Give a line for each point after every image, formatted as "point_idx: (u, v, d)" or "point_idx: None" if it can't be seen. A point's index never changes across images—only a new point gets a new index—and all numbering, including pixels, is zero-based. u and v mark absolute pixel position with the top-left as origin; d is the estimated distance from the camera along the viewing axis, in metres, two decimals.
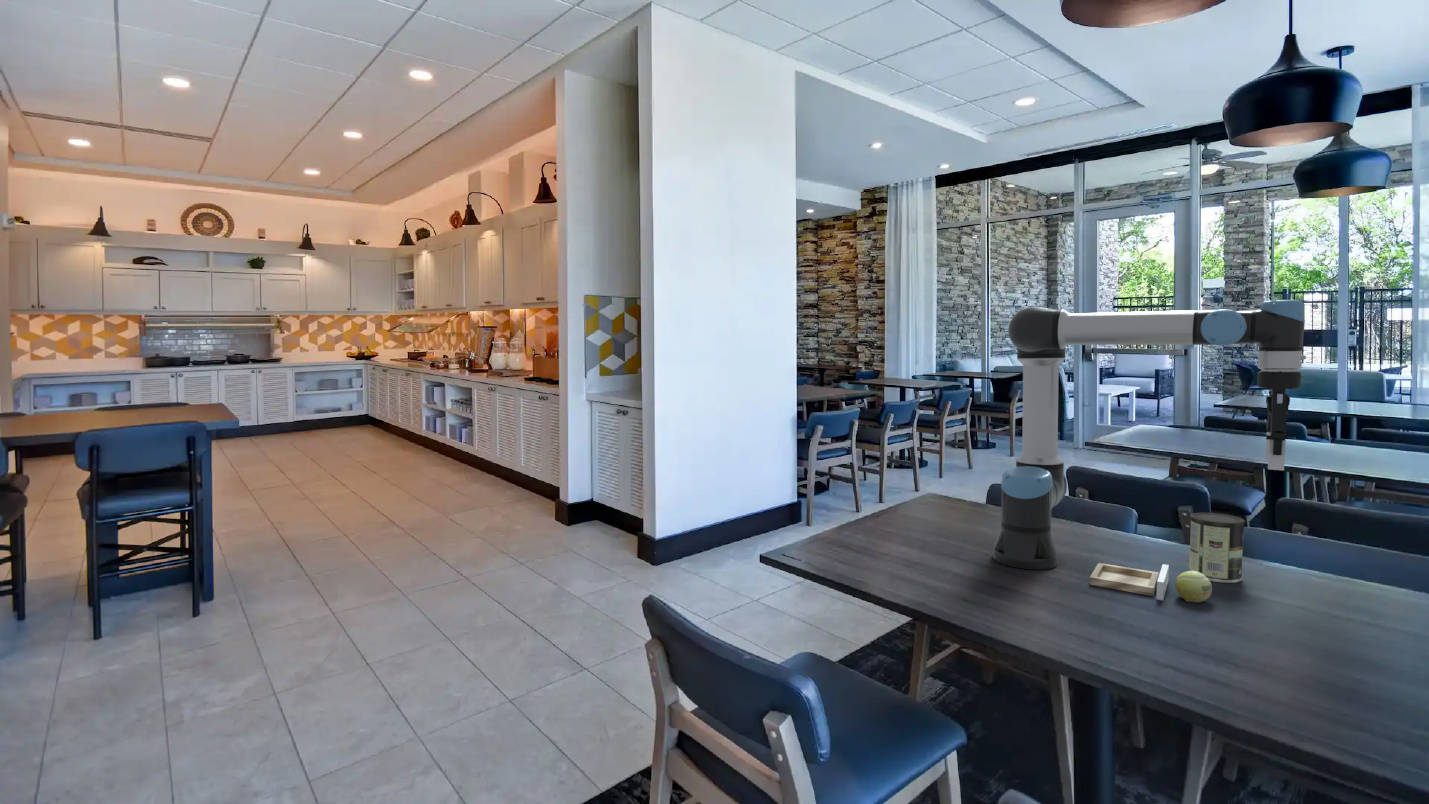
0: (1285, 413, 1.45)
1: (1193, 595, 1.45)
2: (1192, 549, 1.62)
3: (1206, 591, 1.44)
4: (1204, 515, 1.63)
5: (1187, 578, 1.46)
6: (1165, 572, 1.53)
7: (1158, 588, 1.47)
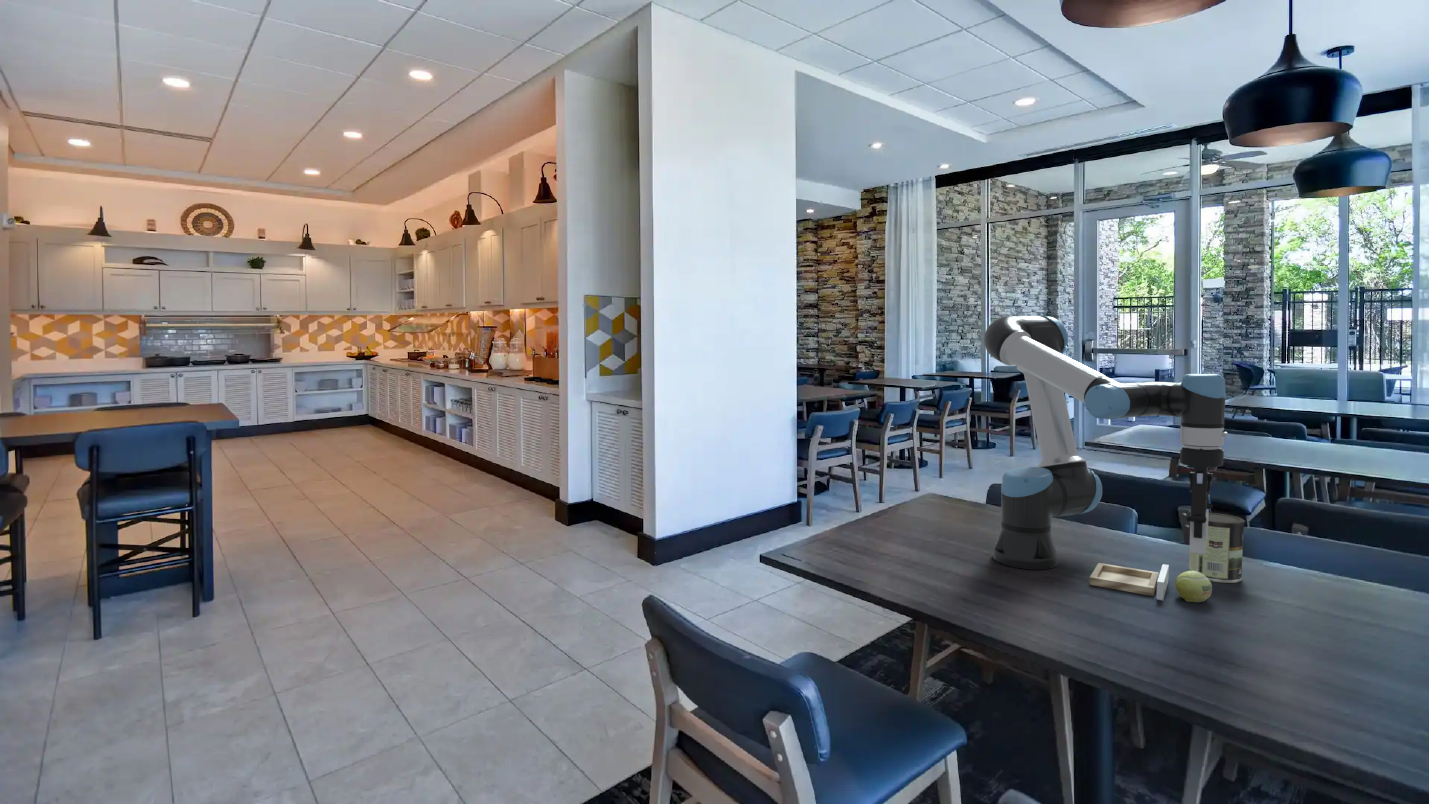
0: (1205, 494, 1.38)
1: (1193, 595, 1.45)
2: None
3: (1206, 591, 1.44)
4: None
5: (1188, 578, 1.46)
6: (1165, 572, 1.53)
7: (1158, 588, 1.47)
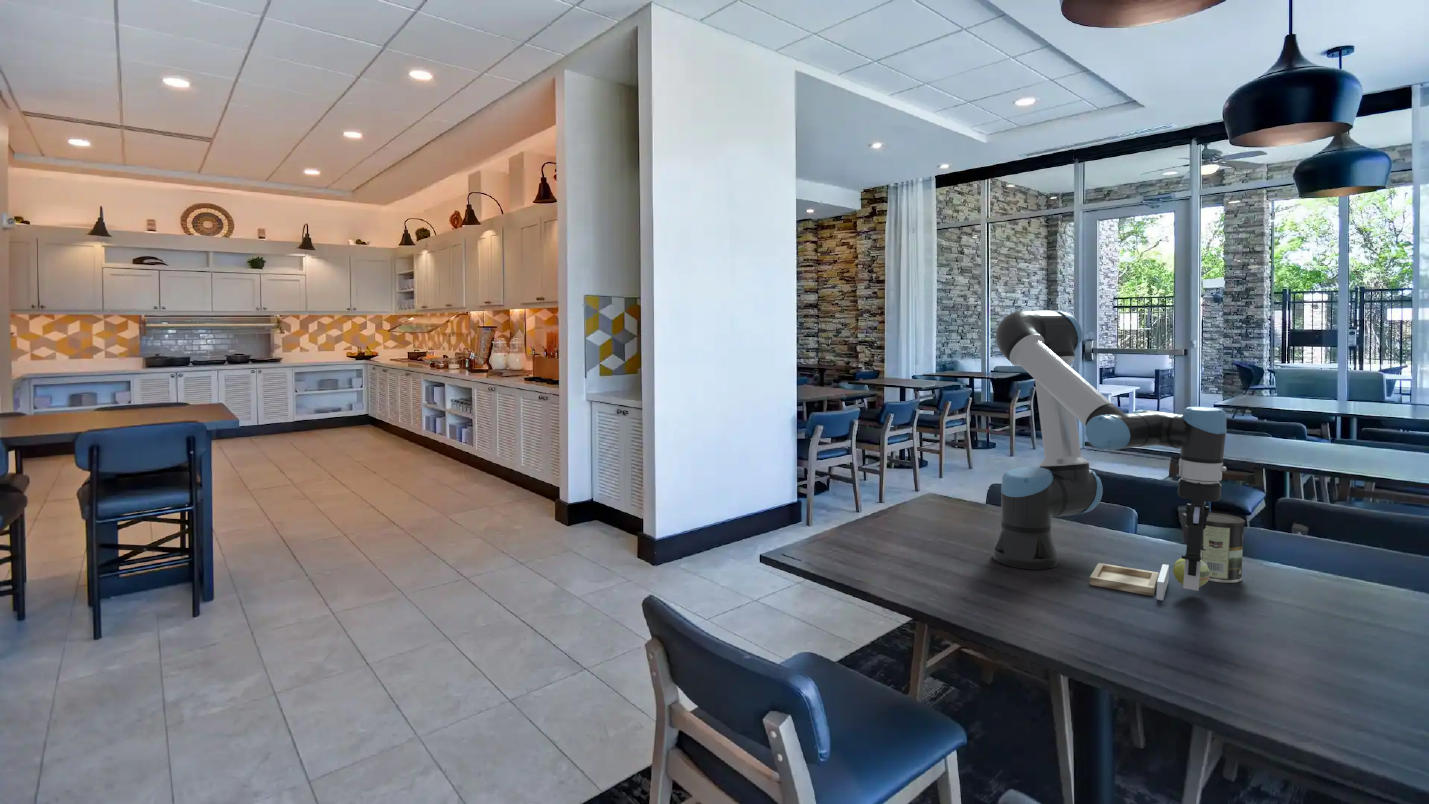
0: (1200, 535, 1.41)
1: None
2: None
3: (1203, 577, 1.45)
4: None
5: None
6: (1165, 572, 1.53)
7: (1158, 588, 1.47)
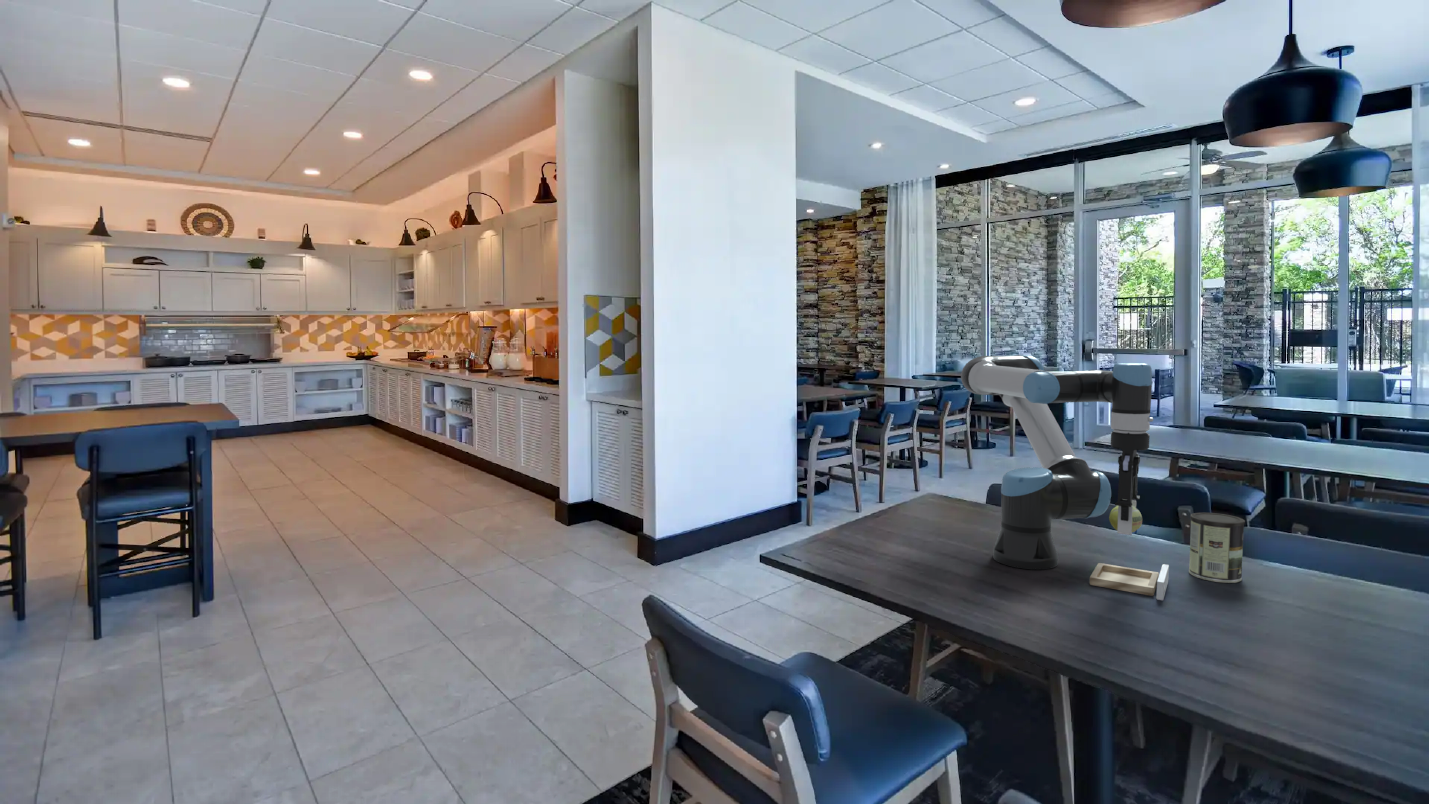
0: (1130, 481, 1.50)
1: None
2: (1192, 548, 1.62)
3: (1136, 522, 1.54)
4: (1204, 515, 1.63)
5: None
6: (1165, 572, 1.53)
7: (1158, 588, 1.47)
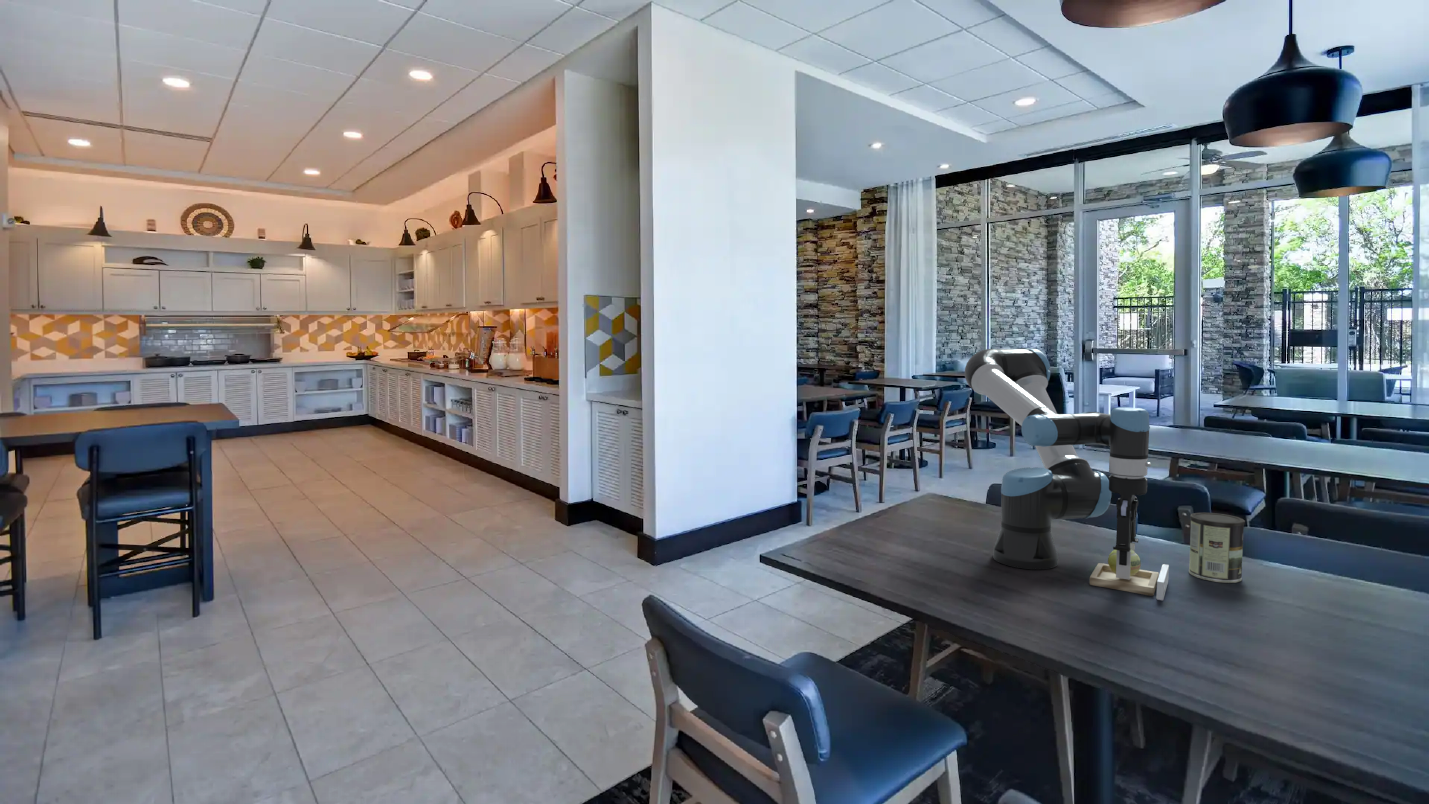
0: (1128, 526, 1.51)
1: None
2: (1192, 548, 1.62)
3: (1134, 566, 1.54)
4: (1204, 515, 1.63)
5: None
6: (1165, 572, 1.53)
7: (1158, 588, 1.47)
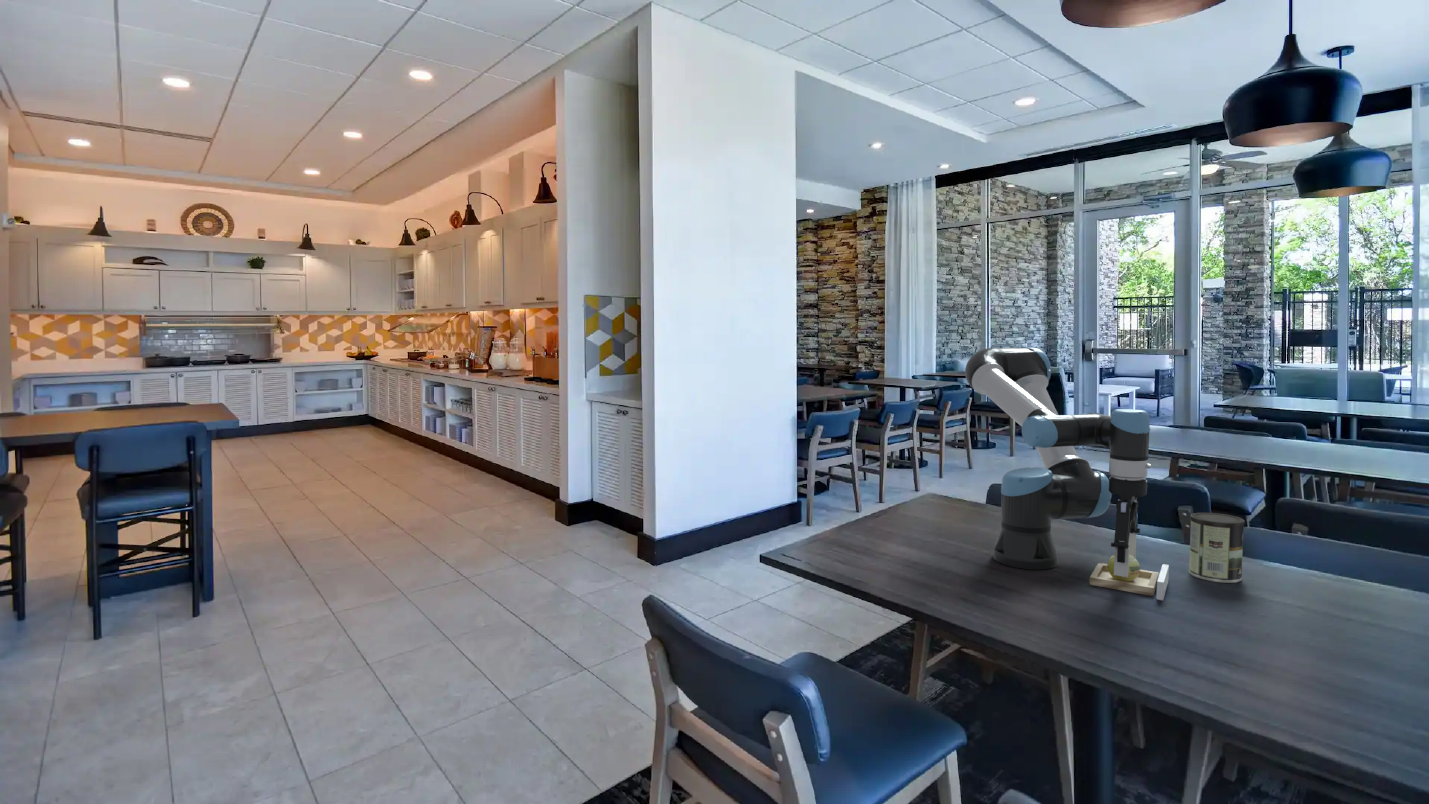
0: (1127, 523, 1.50)
1: None
2: (1192, 549, 1.62)
3: (1133, 571, 1.55)
4: (1204, 515, 1.63)
5: None
6: (1165, 572, 1.53)
7: (1158, 588, 1.47)
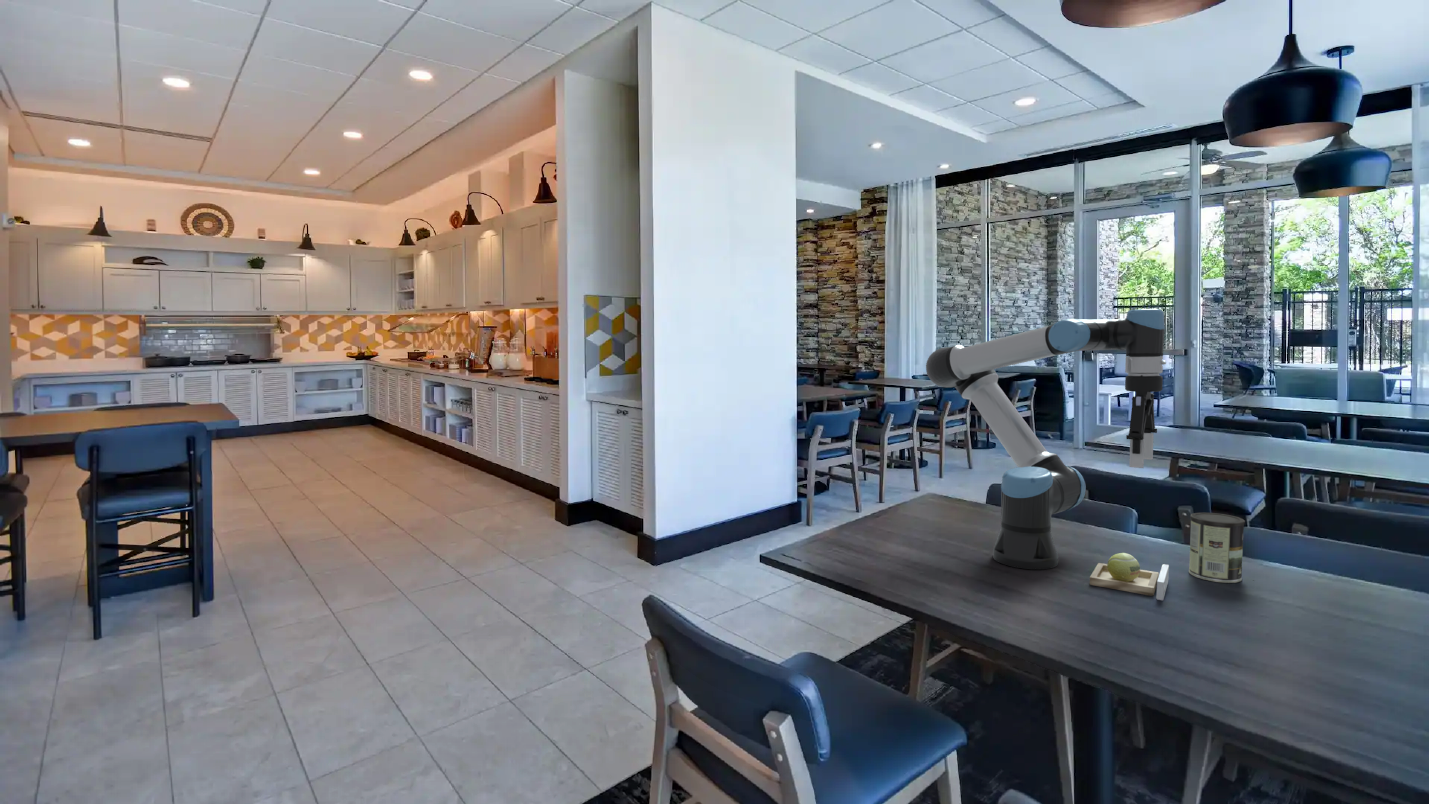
0: (1142, 414, 1.56)
1: (1121, 575, 1.55)
2: (1192, 548, 1.62)
3: (1133, 571, 1.55)
4: (1204, 515, 1.63)
5: (1117, 560, 1.56)
6: (1165, 572, 1.53)
7: (1158, 588, 1.47)
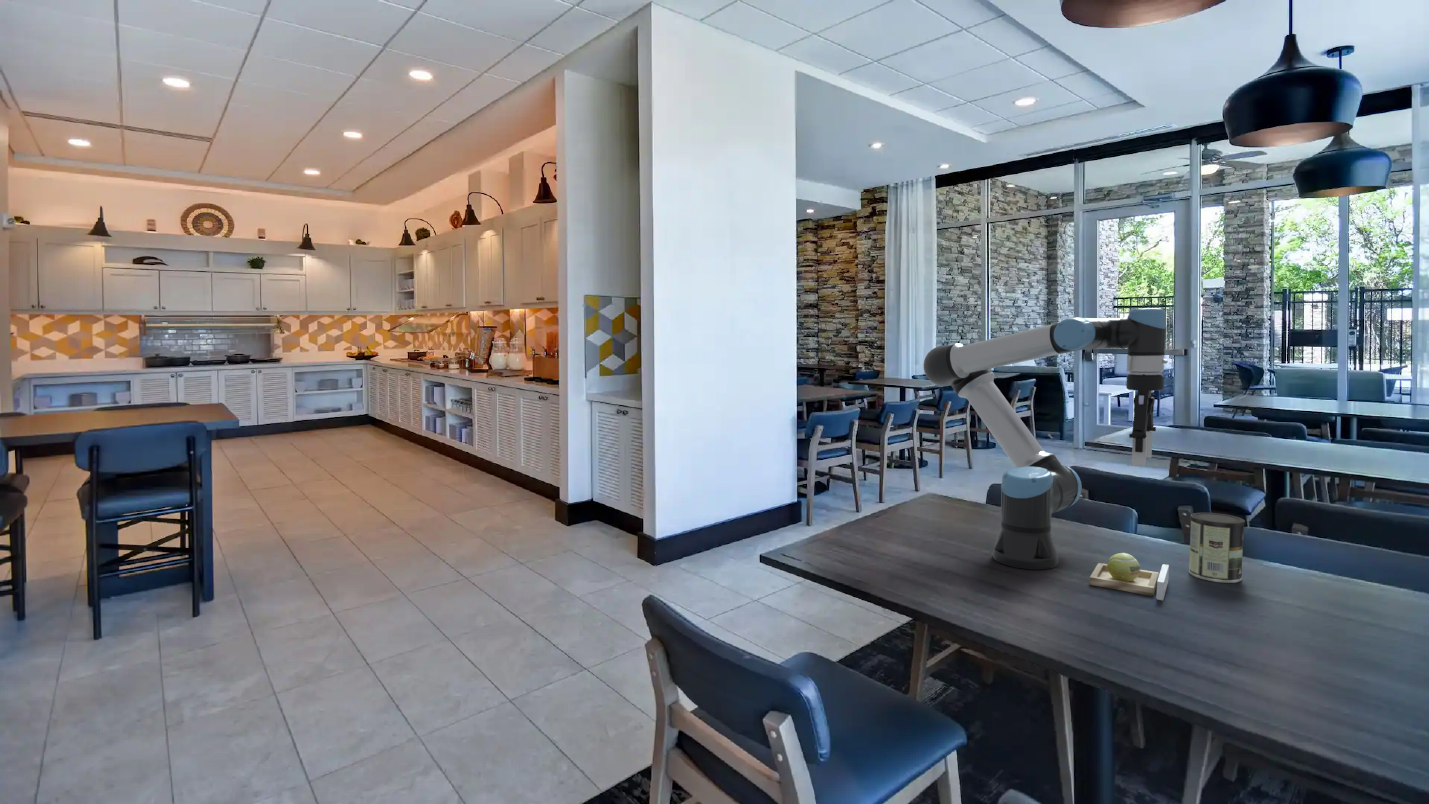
0: (1145, 413, 1.56)
1: (1121, 575, 1.55)
2: (1192, 548, 1.62)
3: (1133, 571, 1.55)
4: (1204, 515, 1.63)
5: (1117, 560, 1.56)
6: (1165, 572, 1.53)
7: (1158, 588, 1.47)
